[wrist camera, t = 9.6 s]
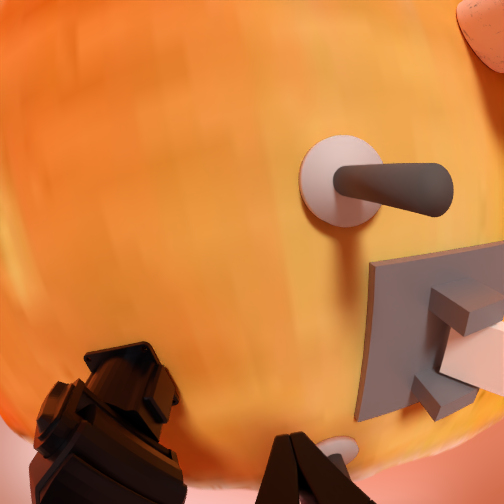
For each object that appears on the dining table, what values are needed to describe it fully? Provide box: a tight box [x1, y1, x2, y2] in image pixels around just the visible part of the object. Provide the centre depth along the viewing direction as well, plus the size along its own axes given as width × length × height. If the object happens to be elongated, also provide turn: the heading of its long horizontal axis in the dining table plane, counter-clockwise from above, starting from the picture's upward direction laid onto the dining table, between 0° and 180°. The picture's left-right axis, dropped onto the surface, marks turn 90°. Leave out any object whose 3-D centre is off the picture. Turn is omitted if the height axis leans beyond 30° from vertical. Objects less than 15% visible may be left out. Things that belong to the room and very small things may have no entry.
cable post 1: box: [315, 436, 359, 480], centre depth 21 cm, size 6×6×10 cm
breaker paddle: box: [440, 321, 504, 397], centre depth 17 cm, size 2×6×10 cm, turn 6°
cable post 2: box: [298, 135, 453, 227], centre depth 14 cm, size 6×6×10 cm
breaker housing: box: [354, 241, 504, 422], centre depth 20 cm, size 18×16×6 cm
